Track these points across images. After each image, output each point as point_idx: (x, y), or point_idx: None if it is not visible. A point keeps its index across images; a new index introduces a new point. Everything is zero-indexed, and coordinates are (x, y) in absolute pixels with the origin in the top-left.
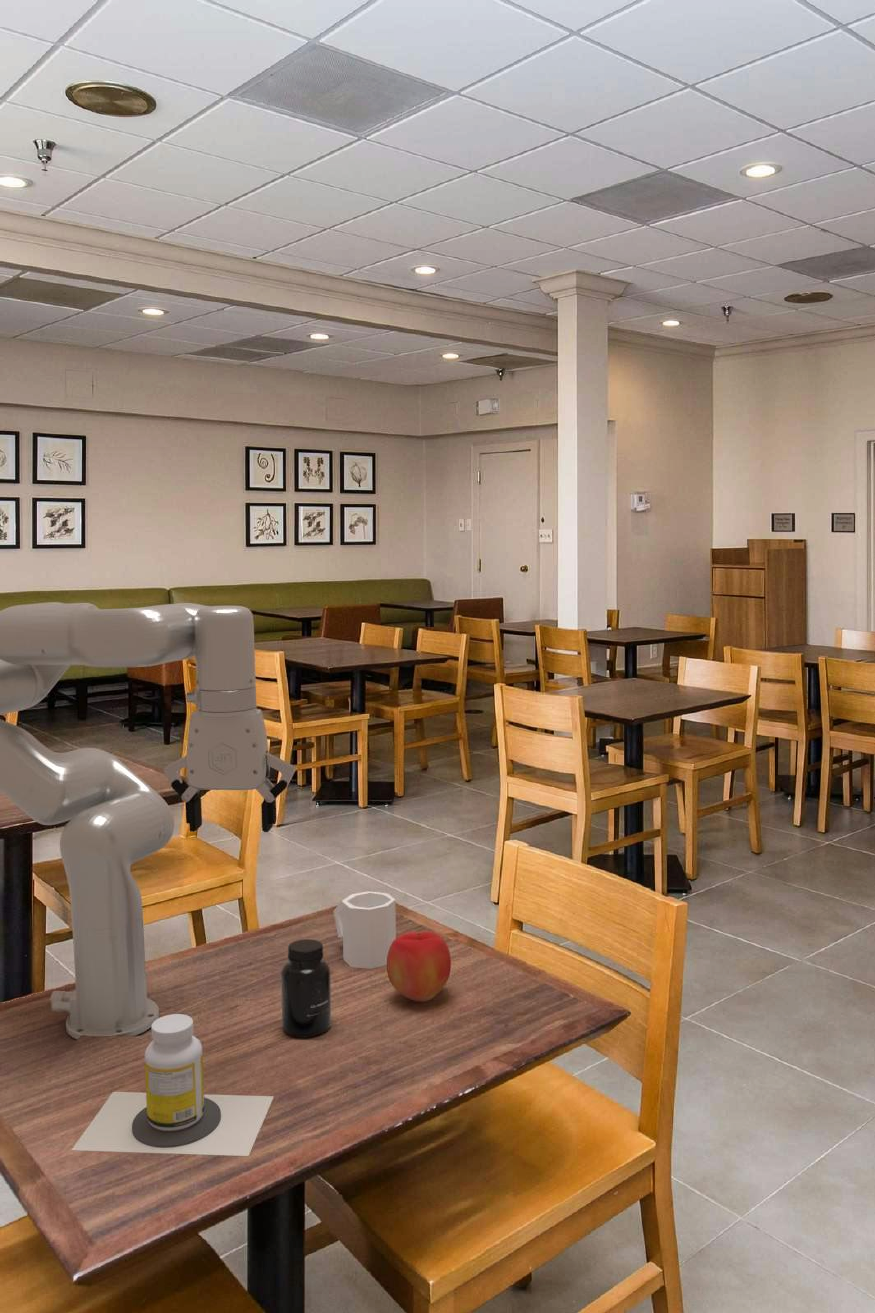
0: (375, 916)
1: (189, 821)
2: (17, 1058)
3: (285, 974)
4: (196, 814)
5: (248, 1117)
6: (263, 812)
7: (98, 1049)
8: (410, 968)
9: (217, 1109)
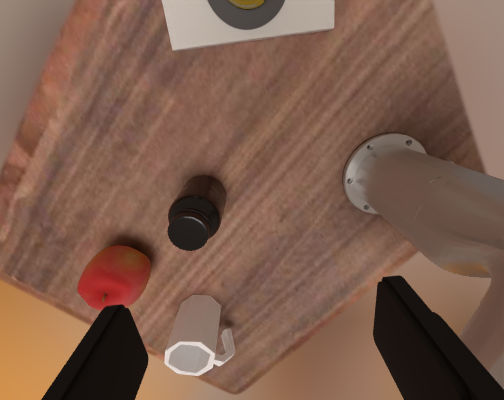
0: (177, 336)
1: (423, 302)
2: (454, 94)
3: (209, 202)
4: (410, 348)
5: (179, 2)
6: (68, 377)
7: (380, 124)
8: (109, 257)
9: (212, 4)
